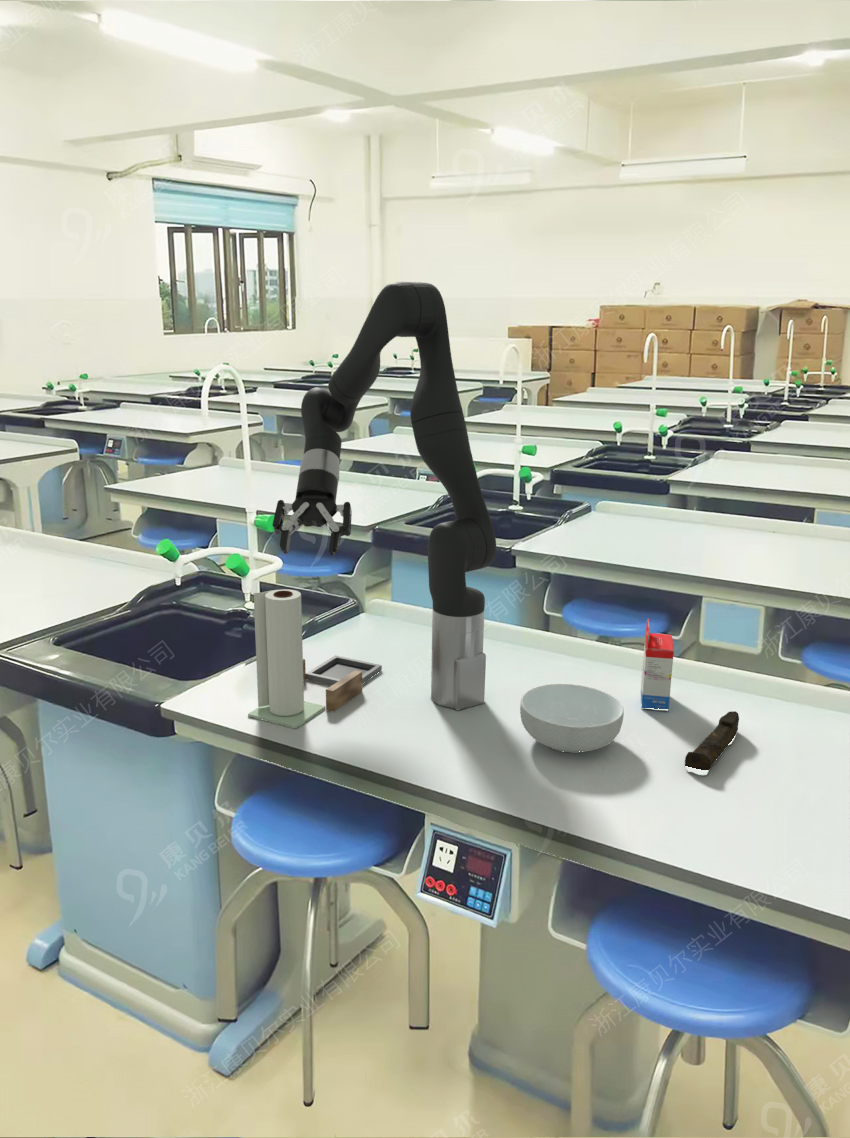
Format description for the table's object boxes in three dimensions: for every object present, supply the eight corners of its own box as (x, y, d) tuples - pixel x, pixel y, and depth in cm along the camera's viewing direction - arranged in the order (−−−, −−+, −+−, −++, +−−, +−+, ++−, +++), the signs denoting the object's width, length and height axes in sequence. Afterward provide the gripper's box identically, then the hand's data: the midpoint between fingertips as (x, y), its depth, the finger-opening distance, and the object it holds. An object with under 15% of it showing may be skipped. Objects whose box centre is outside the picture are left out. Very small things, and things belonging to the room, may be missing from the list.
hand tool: (707, 780, 141) (710, 753, 140) (682, 772, 144) (685, 745, 142) (750, 737, 156) (754, 712, 154) (727, 730, 158) (730, 705, 157)
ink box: (669, 712, 164) (676, 635, 160) (640, 710, 165) (647, 632, 161) (666, 693, 172) (673, 619, 168) (639, 691, 173) (646, 616, 169)
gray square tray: (335, 660, 185) (335, 655, 184) (381, 670, 180) (381, 665, 180) (305, 679, 176) (305, 673, 175) (353, 690, 171) (353, 684, 171)
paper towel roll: (311, 709, 162) (308, 593, 156) (284, 720, 158) (280, 601, 152) (285, 697, 166) (281, 584, 161) (258, 707, 162) (253, 591, 156)
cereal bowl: (598, 777, 141) (601, 735, 139) (501, 750, 150) (502, 709, 148) (635, 735, 155) (638, 696, 153) (544, 712, 164) (546, 675, 162)
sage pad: (278, 697, 168) (278, 694, 168) (325, 708, 163) (325, 706, 163) (248, 716, 160) (248, 713, 160) (296, 728, 156) (296, 726, 156)
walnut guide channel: (299, 677, 177) (298, 657, 176) (362, 691, 171) (362, 671, 170) (267, 696, 168) (267, 675, 167) (333, 712, 162) (333, 691, 161)
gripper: (278, 466, 173) (265, 540, 165) (353, 468, 172) (344, 543, 164) (285, 488, 179) (273, 561, 172) (357, 490, 179) (349, 563, 171)
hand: (308, 552), depth 168 cm, fingers open, 8 cm apart
